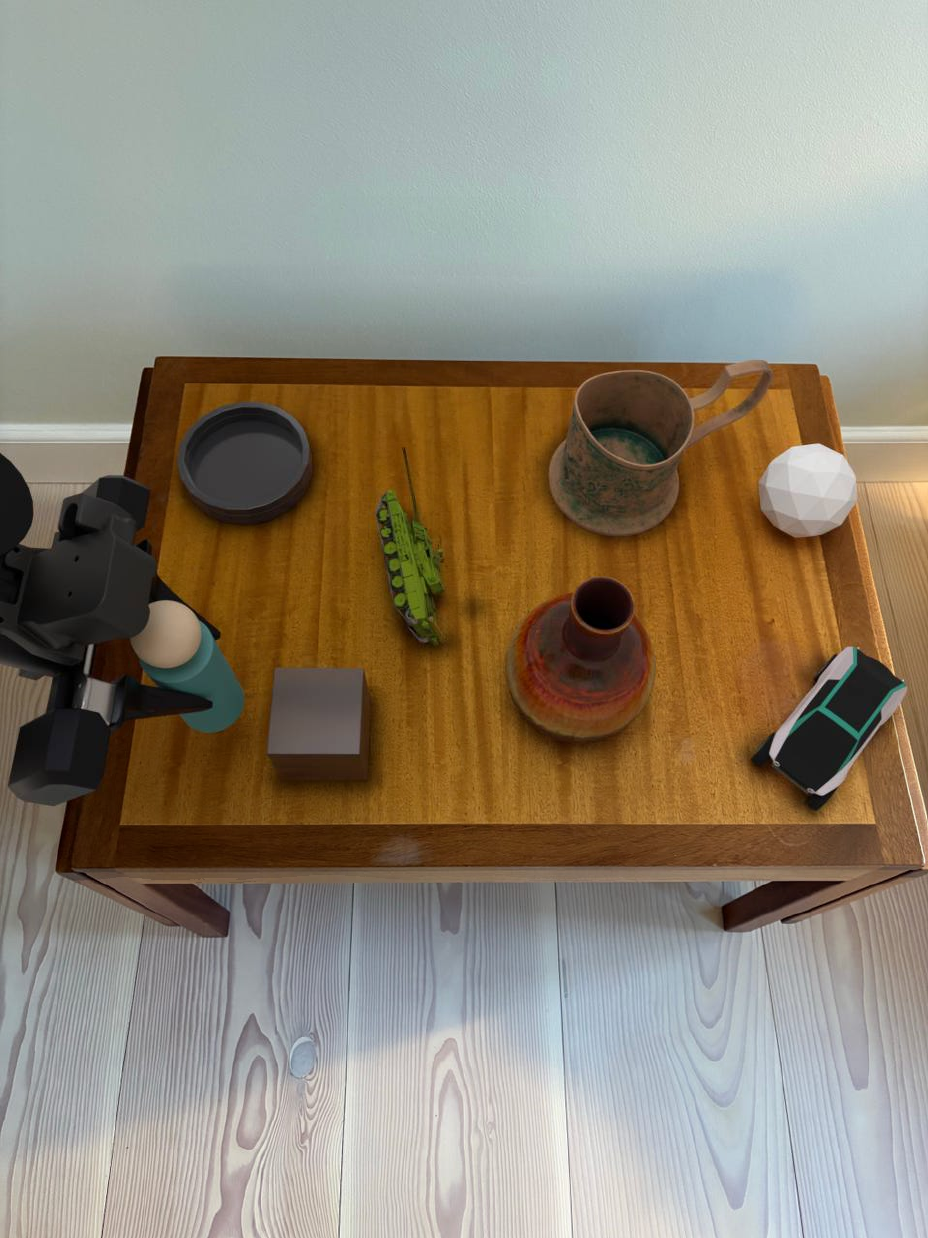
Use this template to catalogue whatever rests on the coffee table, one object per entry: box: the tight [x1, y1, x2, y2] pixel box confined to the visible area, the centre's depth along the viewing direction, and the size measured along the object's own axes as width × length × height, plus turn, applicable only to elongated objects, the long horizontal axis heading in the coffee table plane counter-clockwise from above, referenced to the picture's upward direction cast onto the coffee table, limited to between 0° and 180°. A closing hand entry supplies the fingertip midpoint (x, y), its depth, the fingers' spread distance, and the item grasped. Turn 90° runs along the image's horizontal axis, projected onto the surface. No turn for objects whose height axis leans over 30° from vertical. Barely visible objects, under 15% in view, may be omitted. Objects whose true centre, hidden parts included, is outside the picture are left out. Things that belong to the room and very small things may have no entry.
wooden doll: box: [129, 600, 245, 734], centre depth 56 cm, size 4×4×14 cm
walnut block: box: [266, 667, 372, 782], centre depth 66 cm, size 6×6×7 cm
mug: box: [547, 359, 774, 537], centre depth 75 cm, size 12×18×12 cm, turn 108°
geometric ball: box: [757, 443, 858, 539], centre depth 75 cm, size 8×8×8 cm
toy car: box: [750, 646, 908, 812], centre depth 67 cm, size 6×12×5 cm, turn 138°
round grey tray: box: [176, 401, 314, 526], centre depth 78 cm, size 11×11×2 cm
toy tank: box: [375, 445, 460, 646], centre depth 73 cm, size 7×19×10 cm
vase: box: [505, 575, 657, 744], centre depth 64 cm, size 11×11×15 cm
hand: (213, 672), depth 57 cm, fingers closed on wooden doll, 4 cm apart
